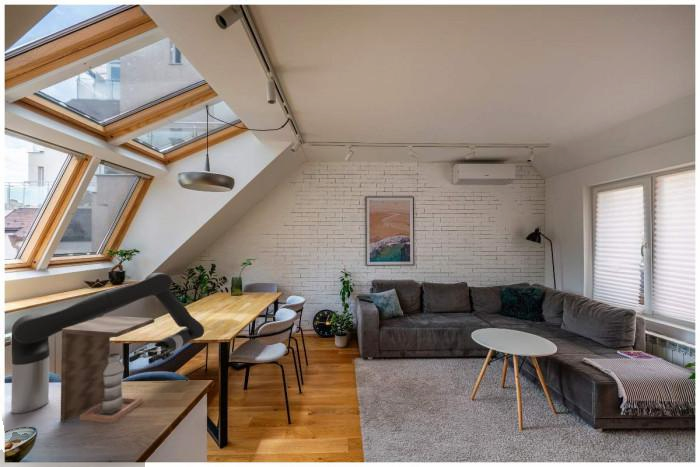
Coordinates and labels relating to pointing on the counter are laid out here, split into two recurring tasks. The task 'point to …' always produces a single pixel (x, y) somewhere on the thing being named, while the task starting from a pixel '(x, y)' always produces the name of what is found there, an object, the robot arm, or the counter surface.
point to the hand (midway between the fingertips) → (139, 360)
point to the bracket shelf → (89, 359)
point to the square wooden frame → (111, 419)
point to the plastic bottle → (112, 384)
